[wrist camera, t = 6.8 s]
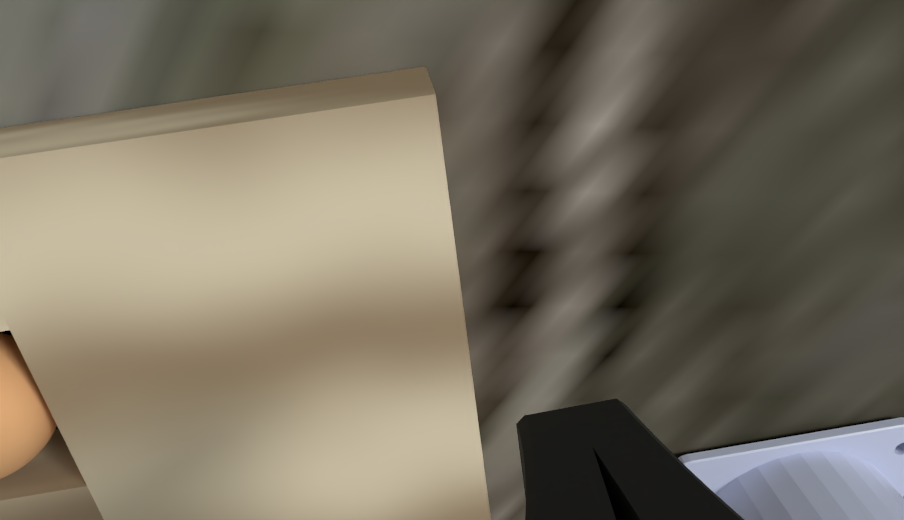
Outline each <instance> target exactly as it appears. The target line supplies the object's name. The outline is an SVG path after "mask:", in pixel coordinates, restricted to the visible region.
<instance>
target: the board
mask: <svg viewBox="0 0 904 520" xmlns="http://www.w3.org/2000/svg"><path fill="white" fill-rule="evenodd" d="M8 330H10V331H11V333H12V335H13V337H14V339H15V341H16V343H17V345H18V347H19V349H20V351H21V354H22V356H23V358H24V360H25V362H26V364H27V366H28V368H29V370H30V372H31V374H32V376H33V378H34V380H35V382H36V384H37V386H38V388H39V390H40V392H41V394H42V396H43V398H44V400H45V402H46V404H47V406H48V408H49V410H50V412H51V414H52V416H53V418H54V420H55V422H56V424H57V426H58V428H59V429H55V431H54V433H53V435H52V436H51V438H50V440H49V441H48V443H47V444H46V446H45V447H44V448H43V449H42V450H41V452H40V453H39V454H38V455H37V456H36V457H35V458H34V459H32V460H31V461H30V462H29V463H27V464H26V465H25V466H23V467H22V468H20V469H19V470H17V471H16V472H14V473H12V474H10V475H8V476H6V477H4V478H1V479H0V520H491V517H490V510H489V502H488V494H487V487H486V479H485V471H484V464H483V456H482V448H481V440H480V433H479V425H478V417H477V410H476V402H475V394H474V387H473V379H472V371H471V364H470V356H469V348H468V340H467V333H466V325H465V317H464V310H463V302H462V294H461V287H460V279H459V271H458V263H457V256H456V248H455V240H454V233H453V225H452V217H451V210H450V202H449V194H448V187H447V179H446V171H445V163H444V156H443V148H442V140H441V133H440V125H439V117H438V110H437V102H436V94H435V91H434V89H433V86H432V83H431V80H430V77H429V75H428V72H427V69H426V66H425V67H418V68H411V69H404V70H397V71H390V72H383V73H376V74H369V75H363V76H356V77H349V78H342V79H335V80H328V81H321V82H314V83H307V84H301V85H294V86H287V87H280V88H273V89H266V90H259V91H252V92H245V93H239V94H232V95H225V96H218V97H211V98H204V99H197V100H190V101H183V102H177V103H170V104H163V105H156V106H149V107H142V108H135V109H128V110H121V111H115V112H108V113H101V114H94V115H87V116H80V117H73V118H66V119H59V120H53V121H46V122H39V123H32V124H25V125H18V126H11V127H4V128H0V332H2V331H8Z"/></svg>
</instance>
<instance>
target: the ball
mask: <svg viewBox="0 0 904 520" xmlns="http://www.w3.org/2000/svg"><path fill="white" fill-rule="evenodd" d="M56 426H57V424H56V422H55V420H54V418H53V416H52V414H51V412H50V410H49V408H48V406H47V404H46V402H45V400H44V398H43V396H42V394H41V392H40V390H39V388H38V386H37V384H36V382H35V380H34V378H33V376H32V374H31V372H30V370H29V368H28V366H27V364H26V362H25V360H24V358H23V356H22V354H21V351H20V349H19V347H18V345H17V343H16V341H15V339H14V337H13V336H11V335H7V334H3V333H0V479H1V478H4V477H6V476H8V475H10V474H12V473H14V472H16V471H17V470H19V469H20V468H22V467H23V466H25V465H26V464H27V463H29V462H30V461H31V460H32V459H34V458H35V457H36V456H37V455H38V454H39V453H40V452H41V450H42V449H43V448H44V447H45V446H46V444H47V443H48V441H49V440H50V438H51V436H52V435H53V433H54V431H55V429H56Z"/></svg>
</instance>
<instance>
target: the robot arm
mask: <svg viewBox="0 0 904 520" xmlns="http://www.w3.org/2000/svg"><path fill="white" fill-rule="evenodd" d="M516 425H517V433H518V441H519V449H520V457H521V464H522V472H523V480H524V488H525V496H526V518H525V520H904V498H903V496H904V417H901V418H895V419H889V420H883V421H877V422H871V423H865V424H860V425H854V426H848V427H842V428H836V429H831V430H825V431H819V432H813V433H807V434H801V435H796V436H790V437H784V438H778V439H772V440H767V441H761V442H755V443H749V444H743V445H738V446H732V447H726V448H720V449H714V450H708V451H703V452H697V453H691V454H686V455H683V456H680V457H679V458H677V457H676V456H675V455H674V454H673V453H672V452H671V451H670V450H669V449H668V448H667V447H666V446H665V445H664V444H663V443H662V442H661V441H660V440H659V439H658V438H657V437H656V436H655V435H654V434H653V433H652V432H651V431H650V430H649V429H648V428H647V427H646V426H645V425H644V424H643V423H642V422H641V421H640V420H639V419H638V418H637V417H636V416H635V414H634V413H633V412H632V411H631V410H630V409H629V408H628V407H627V406H626V405H625V404H624V403H622V402H621V401H619V400H618V399H612V400H606V401H601V402H595V403H590V404H585V405H579V406H574V407H568V408H563V409H558V410H552V411H547V412H541V413H536V414H531V415H525V416H524V417H523V418H522V419H521V420H520V421H519V422H518V423H517V424H516Z"/></svg>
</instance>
